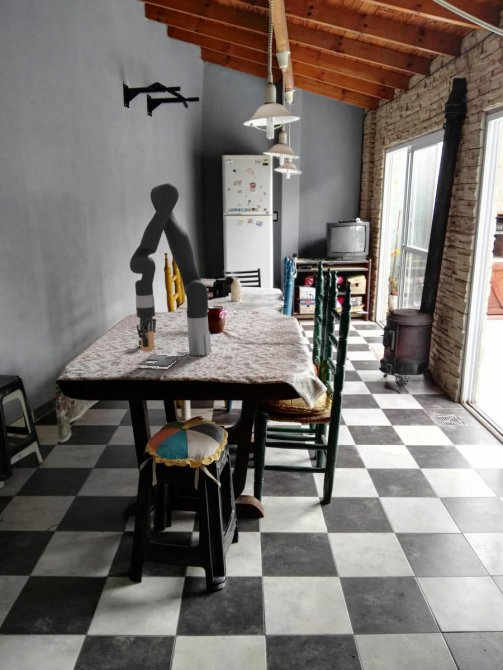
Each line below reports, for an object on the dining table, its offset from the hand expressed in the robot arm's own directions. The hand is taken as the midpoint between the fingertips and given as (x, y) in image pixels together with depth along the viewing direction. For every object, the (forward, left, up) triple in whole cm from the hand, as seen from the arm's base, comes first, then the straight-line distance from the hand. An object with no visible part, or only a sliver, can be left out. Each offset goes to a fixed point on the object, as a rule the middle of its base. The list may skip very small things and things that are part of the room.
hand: (148, 345), depth 216 cm
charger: (0, 0, -2) cm, 2 cm away
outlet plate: (-3, -2, -9) cm, 10 cm away
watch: (+15, -28, -9) cm, 33 cm away
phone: (-3, -17, -10) cm, 20 cm away
